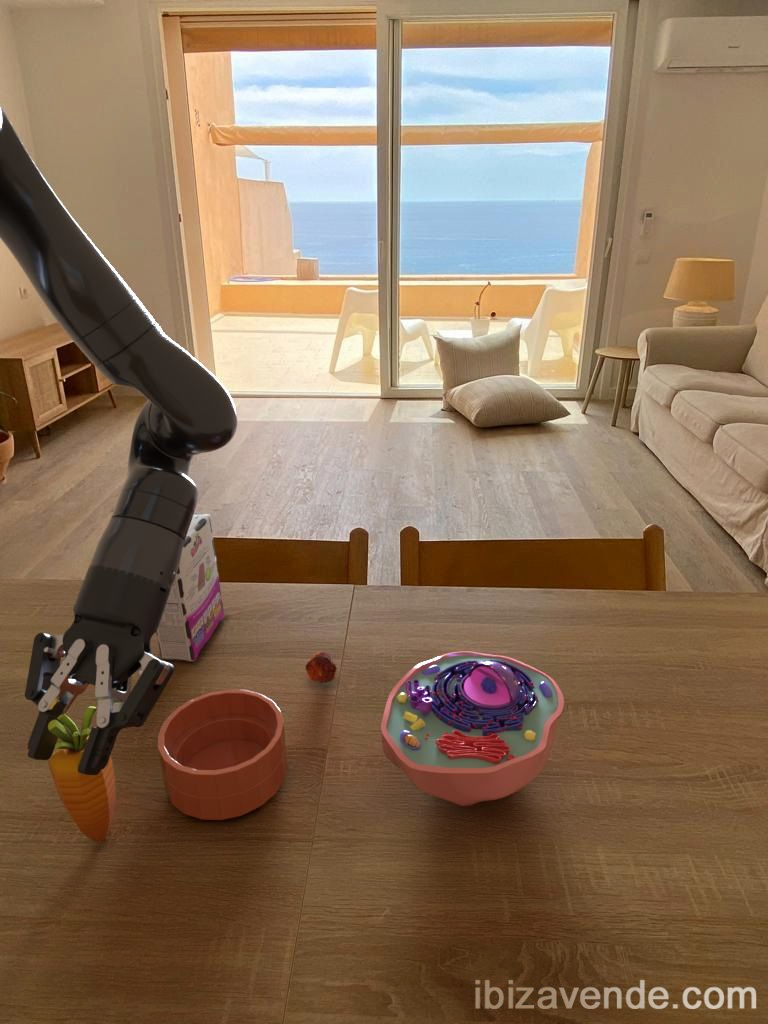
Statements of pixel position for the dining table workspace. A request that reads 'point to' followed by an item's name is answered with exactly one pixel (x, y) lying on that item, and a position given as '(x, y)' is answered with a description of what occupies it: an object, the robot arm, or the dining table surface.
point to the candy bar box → (192, 597)
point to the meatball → (321, 668)
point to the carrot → (82, 779)
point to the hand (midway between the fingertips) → (63, 765)
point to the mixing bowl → (223, 754)
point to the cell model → (471, 725)
